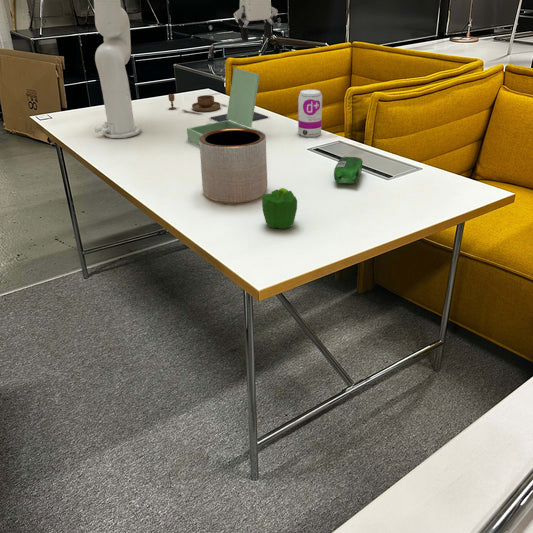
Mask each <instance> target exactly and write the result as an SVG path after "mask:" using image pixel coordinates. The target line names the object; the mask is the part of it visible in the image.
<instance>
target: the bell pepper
mask: <svg viewBox="0 0 533 533" xmlns="http://www.w3.org/2000/svg"><path fill="white" fill-rule="evenodd" d="M261 205H262V214H263V217H264V220H265V223H266V225H267V226H268V227H269V228H272V229H276V228H277V229H280V230H281V229H282V230H285V229H289V228H291V227H292V226H293V224H294V223H295V220H296V214H297V210H298V199H297V197H296V196H295V195H294V193H293V192H292V190H288V189H286V188H285V187H281V188H279V189H274V190H272V191H271V193H265V194H264V195H263V196H261Z"/></svg>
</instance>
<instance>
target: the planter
mask: <svg viewBox="0 0 533 533" xmlns="http://www.w3.org/2000/svg"><path fill="white" fill-rule="evenodd" d="M248 128H249V127H247V128H224V129H217V130H213V131H209V132H207V133H205V134H203V135H201V136H200V138H199V144H200V145H199V151H200V152H199V157H200V172H201V173H200V174H201V185H202V186H201V188H202V192H203V195H204V196H205V197H206V198H208V199H209V200H211V201H214V202H217V203H221V204H244V203H249V202H252V201H253V202H254V201H256V200H258V199H259V198H262V197H263V195H264V194H267V191H268V164H267V160H268V159H267V136H266V134H265V133H264V132H263V131H260V130H257V129H255V128H249V129H248Z"/></svg>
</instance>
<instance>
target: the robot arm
mask: <svg viewBox="0 0 533 533" xmlns="http://www.w3.org/2000/svg"><path fill="white" fill-rule="evenodd" d="M121 2H122V1H121V0H93V9H94V24H95V29H96V31H97V32H98V33H99V34H100V35H101V36H102V37H103V43H101V44H100V45H99V46H98V47H97V48H96V51H95V54H94V61H95V66H96V69H97V73H98V76H99V77H98V78H99V81H100V87H101V92H102V99H103V104H104V105H103V106H104V110H105V118H106V121H104V124H102V125H98V126H94V131H95V133H100V132H101V134H103V133H104V136H105V137H107V138H111V139H125V138H126V139H127V138H131V137H134V136H137V135H139V134H140V131H141V130H140V128H139V127H137V126H136V125H135V119H134V118H135V117H134V111H133V104H132V96H131V89H130V82H129V77H128V73H127V70H126V65H127V64H128V62H129V61H130V59H131V54H132V45H131V24H130V18H129V14H128V13H127V11H126V10H125V9H124V8H123V7H122V3H121ZM278 12H279V11H278V9H277V8H275V7H273V6H272V2H271V0H239V9H237V10H236V11H235V12H234V13H233V18H234V20H235V23H236V24H237V25H238V27H239V28H240V39H241V41H246V42H247V41H249V27H248V25H249V23H250V22H253V21H263V22H264V23H265V24H264V25H263V26H264V27H263V28H264V29H263V31H264V32H263V34H264V37H265V38H269V39H271V38H272V35H273V25H274V22H275V20H276V18H277V15H278Z"/></svg>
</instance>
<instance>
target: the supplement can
mask: <svg viewBox="0 0 533 533" xmlns="http://www.w3.org/2000/svg"><path fill="white" fill-rule="evenodd" d="M297 98H298V101H297V102H298V105H297V106H298V108H297V110H298V111H297V116H298V117H297V133H298V134H299V136H301V137H304V138H315V137H319V136H320V135H321V134H322V123H323V120H322V118H323V114H322V113H323V94H322V92H321V90H319V89H315V88H313V89H311V88H310V89H309V88H308V89H307V88H306V89H301V90H300V92H299V94H298V97H297Z"/></svg>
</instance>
